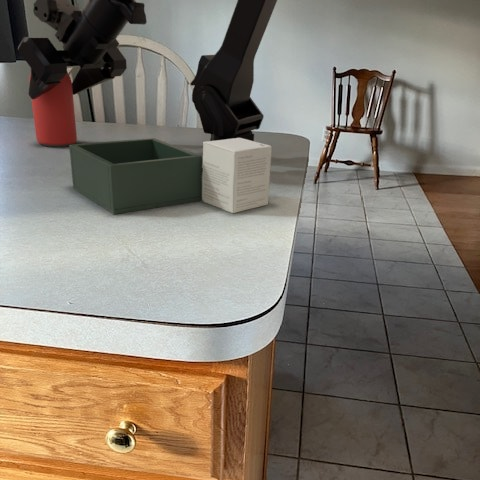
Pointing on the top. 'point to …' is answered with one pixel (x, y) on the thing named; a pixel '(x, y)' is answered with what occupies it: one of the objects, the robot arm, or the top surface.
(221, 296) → the top surface
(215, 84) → the robot arm
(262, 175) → the product box
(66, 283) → the top surface
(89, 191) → the open storage bin
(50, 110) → the beer can
